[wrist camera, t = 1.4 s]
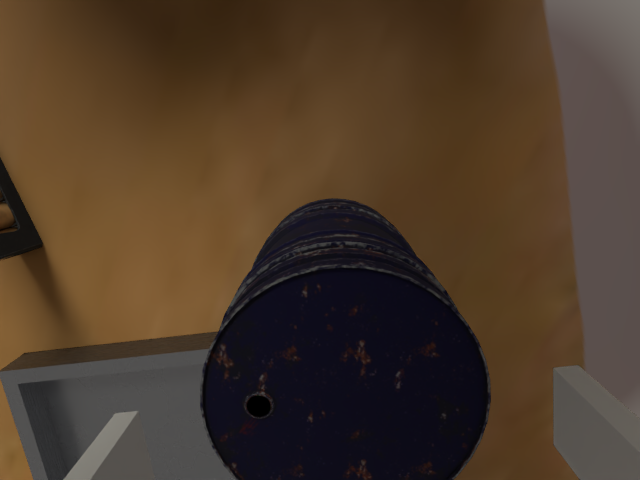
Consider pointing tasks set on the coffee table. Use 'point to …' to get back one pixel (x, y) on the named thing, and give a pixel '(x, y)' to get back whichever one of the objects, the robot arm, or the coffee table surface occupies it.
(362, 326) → the storage jar
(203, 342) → the cradle tray
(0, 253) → the ammunition clip
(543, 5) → the coffee table surface
